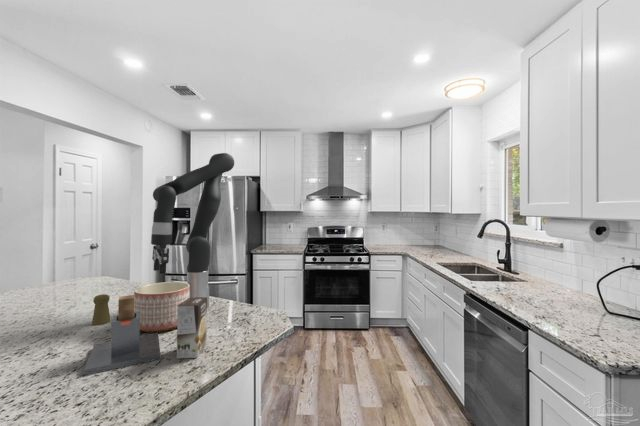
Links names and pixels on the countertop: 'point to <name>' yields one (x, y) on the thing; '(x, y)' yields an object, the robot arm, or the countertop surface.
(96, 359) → the stand base
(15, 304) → the countertop surface
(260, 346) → the countertop surface
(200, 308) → the coffee box
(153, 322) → the planter
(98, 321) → the cork
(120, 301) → the stand post
